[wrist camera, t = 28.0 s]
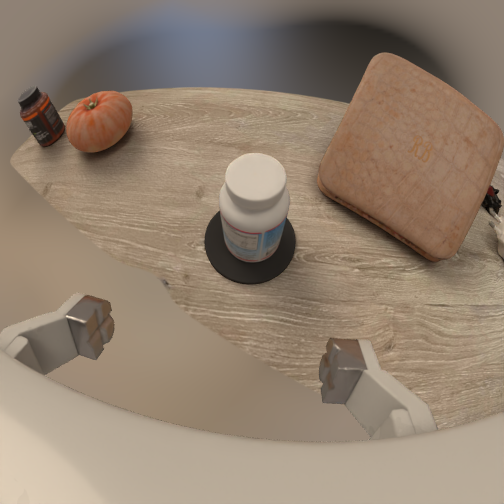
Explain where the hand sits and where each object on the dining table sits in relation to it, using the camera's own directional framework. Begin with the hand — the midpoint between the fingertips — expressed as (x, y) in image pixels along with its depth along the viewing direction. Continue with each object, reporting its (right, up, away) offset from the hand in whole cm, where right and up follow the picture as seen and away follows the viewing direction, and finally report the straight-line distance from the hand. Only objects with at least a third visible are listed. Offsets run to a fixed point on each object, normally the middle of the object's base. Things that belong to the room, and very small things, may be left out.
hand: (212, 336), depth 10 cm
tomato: (-21, +21, +28) cm, 41 cm away
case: (+22, +13, +26) cm, 37 cm away
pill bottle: (+1, +4, +22) cm, 22 cm away
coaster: (+1, +4, +22) cm, 22 cm away
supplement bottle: (-35, +24, +29) cm, 51 cm away
